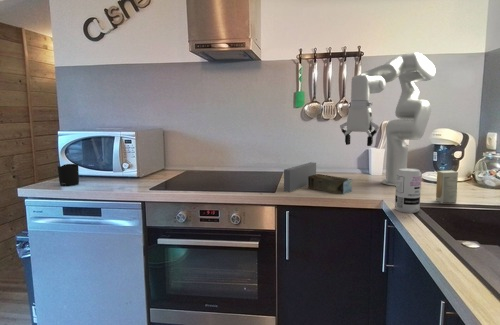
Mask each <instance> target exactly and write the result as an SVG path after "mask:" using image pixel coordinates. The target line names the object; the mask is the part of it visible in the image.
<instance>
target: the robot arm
mask: <svg viewBox="0 0 500 325" xmlns="http://www.w3.org/2000/svg"><path fill="white" fill-rule="evenodd" d="M435 75H436V67H435V65H434V63H433V62H432V61H431V60H429V59H428V57H426V56H425V55H423V54H422V53H421V52H420V53H419V52H409V53H403V54H401V53H400V54H397V55H395V56H394V57H392V58H390V59H389V60H388V61H386V62H385V63H383V64H381V65H378V66H376V67H374V68H371V69H368V70H365V71H364V72H362V73H360V74H357V75H353V76H352V77H351V83H350V84H351V86H350V87H351V90H350V108H349V109H348V113H347V119H346V122H343V123H342V124H340V125H339V128H340V130H341V132H342V133H343V134H344V136H345V137H344V142H345V146H346V145H347V146H348V145H351V135H350V134H351V133H352V132H357V133H358V132H359V133H366V134H367V135H368V136H367V141H366V143H367V144H366V145H367V146H368V147H371V146H372V145H373V143H374V142H373V138H374V136H375V135H376V134H377V133H378V131H379V129H380V125H378V124H376V123H374V122H373V112H372V108H370V107H371V106H373V102H372V101H371V100H370V94H379V93H381V92H383V91H384V90H385V88H386V84H388V83H390V82H392V81H394V80H396V79H398V80H399V85H400V88H401V92H400V96H399V99H398V102H397V104H396V107H395V112H394V113H395V114H394V115H395V117H396V118H397V119H391V120H390V121H388V122H387V124H386V125H385V137H386V158H385V178H384V179H382V180H381V183H382V184H383V185H387V186H395V187H396V175H397V172H398V170H399V169H401V168H408V154H409V153H408V152H409V151H408V150H409V149H408V145H407V143H406V141H407V140H408V141H419V140H420V139H422V138H423V137H424V135H425V132H426V129H427V126H428V123H429V120H430V116H431V112H432V107H431V103H430V102H429V100H427V99H420V96H421V93H420V89H419V88H418V87H417V85H416V84H415V82H416V83H417V82H427V81H431V80H432V79H434V77H435ZM345 127H346V129H345ZM373 127H374V129H373ZM405 140H406V141H405Z"/></svg>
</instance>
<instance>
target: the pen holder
mask: <svg viewBox="0 0 500 325" xmlns="http://www.w3.org/2000/svg"><path fill="white" fill-rule="evenodd" d="M56 168H57V173H58V181H59V185H60V186H61V187H73V186H76V185H79V183H80V177H79V176H80V172H79V164H78V163H67V164H63V165H61V166H59V165H57V167H56Z"/></svg>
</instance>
